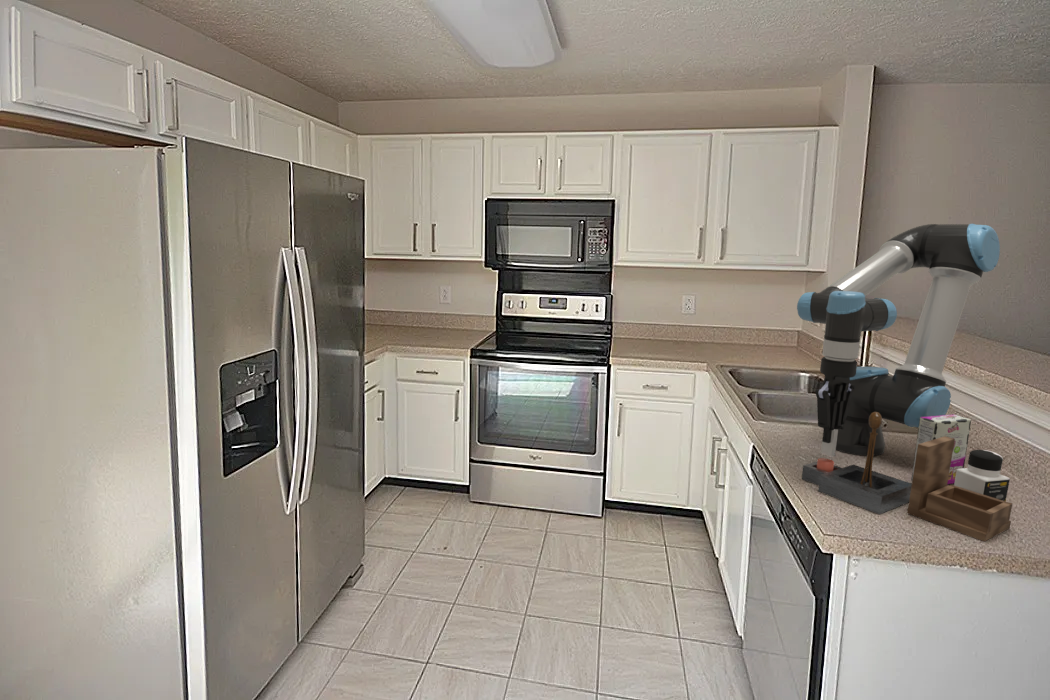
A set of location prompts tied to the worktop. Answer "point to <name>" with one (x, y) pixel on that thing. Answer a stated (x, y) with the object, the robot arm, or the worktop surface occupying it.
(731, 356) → the worktop surface
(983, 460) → the medicine bottle
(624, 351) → the worktop surface
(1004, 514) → the walnut rack
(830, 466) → the release plunger
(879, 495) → the socket block
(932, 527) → the worktop surface
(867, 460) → the wooden tabletop sculpture
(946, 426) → the candy bar box
